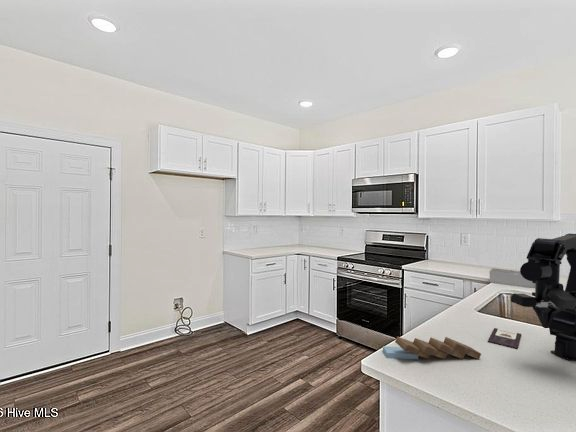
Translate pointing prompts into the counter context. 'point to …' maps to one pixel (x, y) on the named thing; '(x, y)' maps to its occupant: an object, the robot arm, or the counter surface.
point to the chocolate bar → (505, 338)
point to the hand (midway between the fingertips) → (545, 327)
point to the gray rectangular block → (509, 278)
